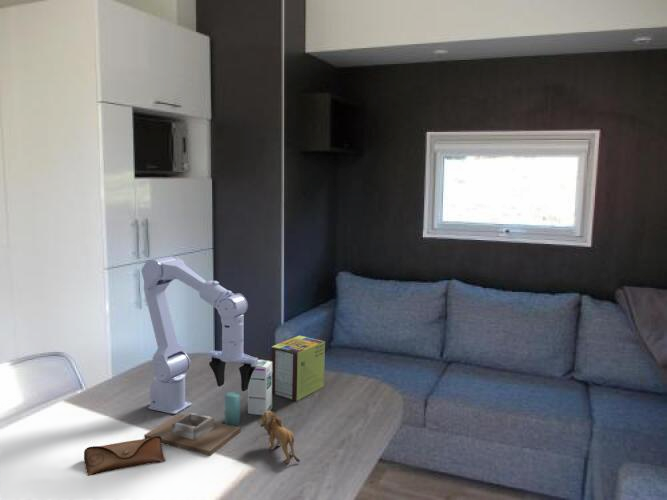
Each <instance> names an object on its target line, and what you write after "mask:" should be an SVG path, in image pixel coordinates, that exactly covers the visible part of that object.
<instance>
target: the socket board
mask: <svg viewBox="0 0 667 500" xmlns="http://www.w3.org/2000/svg"><path fill="white" fill-rule="evenodd" d="M241 429H242V428H241V427H239V426H236V425H235V426H230V425H226V424H225V423H221V422H218V421H215V417H214V416H209V415H205V414H201V413H196V412H191V411H190V412H188V413H186V414H181V413H177V414H175V415H174V416H173V417H171V418H170V419H168V420H166V421H164V422H163V423H161V424H160V425H158V426H156V427H155V428H153V429H151V430H150V431H147V433H145V434H144V436H143V437H144V438H143V439H148V438H151V437H155V436H160V437H161V442H162V443H161V444H162V445H167V446H170V447H173V448H178V449H182V450H186V451H191V452H194V453H198V454H202V455H206V456H213V454H214V453H216V452H217V451H218V450H220V449H221V448H222V447H224V445H226V444H227V443H229V442H230V441H231V440H233V438H235V437H236V436H237V435H239V434H240V433H241Z"/></svg>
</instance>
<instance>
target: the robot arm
mask: <svg viewBox="0 0 667 500" xmlns="http://www.w3.org/2000/svg"><path fill="white" fill-rule="evenodd" d="M140 271H141V274H142V279H143V291H144V295H145V299H146V303H147V308H148V312H149V317H150V320H151V324H152V329H153V333H154V336H155V337H154V338H155V340H156V345H157V349H156V351H155V352H154V354H153V355H152V362H153V365H152V366H153V367H152V372H153V375H154V377H153V379H152V380H151V382H150V388H149V390H150V394H149V396H150V406H148V409H149V410H154V411H158V412H163V413H166V414H171V415H178V414H179V413H180V412H182V411H183V410H185V409H187V408H188V407H189V406H191V405H192V402H191V401H186V376H187V372H188V371H189V370H190V368H191V359H190V357H189V356H188V354H187V351H186V349H185V347H184V346H183V345H182V344H180V343H179V342H178V340H177V336H176V332H175V328H174V323H173V320H172V316H171V315H172V314H171V311H170V307H169V302H168V299H167V294H166V290H167V288H168V286H169V285H170V284H171V282H173V281H174V280H178V281H179V282H182V283H183V284H185V285H187V286H189V287H190V288H191V289H193V290H195V291H197V292H198V294H199V297H200V299H201V300H203V301H204V302H206V303H208V304H209V305H210V306H212V307H213V308H215V309H216V310H217V313H218V315H219V316H220V322H221V325H222V326H221V328H222V329H221V332H222V333H221V335H222V336H221V350H210V351H208V353H207V356H208V357H207V359H208V360H211V361H210V362H209V364H208V365H209V367H210V369H211V370H212V372H213V374H214V377H215V380H216V384H217V387H221V386H223V385H224V384H225V371H226V370H225V369H226V364H227V363H234V364H240V365H241V366H240V367H239V368H238V370H239V373H240V379H241V381H240V383H241V384H240V389H241V391H242V392H245V391H248V385H249V381H250V378H251V375H252V373H253V371H254V369H255V367H256V366H257V365H258V360H259V358H258V357H256V356H255V357H254V356H251V355H249V354H246V353H245V352H244V329H245V328H244V327H245V326H244V325H245V323H244V322H245V320H244V318H245V317H244V315H245V313H246V312H247V311H248V308H249V303H248V301H247V298H246V297H245V296H244V295H243V294H242V293H234V292H233V291H231V290H228V289H227V288H225V287H223V286H222V285H220V282H219V281H217V280H208V281H207V280H205V279H204V278H203V277H201V276H200V275H199V274H197V273H196V272H195V271H193V270H192V269H191V268H190V267H189V266H187V265H186V264H185V262H184V260H183V259H181V258H179V257H177V256H175V255H169V256H165V257H160V258H159V257H158V258H155V259H154V258H152V259H147V261H145V263H144V264H143V266H142V268H141V270H140Z"/></svg>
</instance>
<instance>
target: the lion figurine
mask: <svg viewBox="0 0 667 500" xmlns="http://www.w3.org/2000/svg"><path fill="white" fill-rule="evenodd" d="M257 423H258V425H259V426H260V428H264V430H266V432H267V435H268V436H269V442H270V445H269V447H268V450H274V449H275V439H276V440H277V442H276V446H277V447H281V448H282V450H283V453H284V455H285V458H286V459H285V460H284V463H285V464H288V463H290V462H291V457H290V456H292V457H293V458H294V461H296V462H298V463H300V462H301V459H299V458H298V457H297V456H296V455H295V450H294V444H295V443H294V442H295V437H294V434H293V432H292V431H291V430H290V429H287V428H285V427H284V425H283V423H282V420H281V418H280V417H279V416H278V414H276V413H275V412H274V411H272V410H269V411H264V415H261V418H260V419H259V420H257ZM288 444H289V445H288ZM288 446H289V448H290V452H289V451H288Z"/></svg>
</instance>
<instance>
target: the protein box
mask: <svg viewBox="0 0 667 500" xmlns="http://www.w3.org/2000/svg"><path fill="white" fill-rule="evenodd" d="M270 349H271V350H270V355H271V357H270V361H272V396H273V395H274V396H277V397H280V398H281V397H282V398H283V399H284V398H285V399H288V400H291V401H295V402H298V401H300V400H302V399H304V398H305V397H307V396H309V395H310V394H313V393H315V392H316V391H318V390H320V389H322V388H324V386H325V362H326V361H325V360H326V359H325V354H326V352H325V350H326V340H322V339H317V338H313V337H308V336H303V335H297V336H295V337H293V338H290V339H287V340H285V341H282V342H280V343H277V344H275V345H272V346H271V347H270Z"/></svg>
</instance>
